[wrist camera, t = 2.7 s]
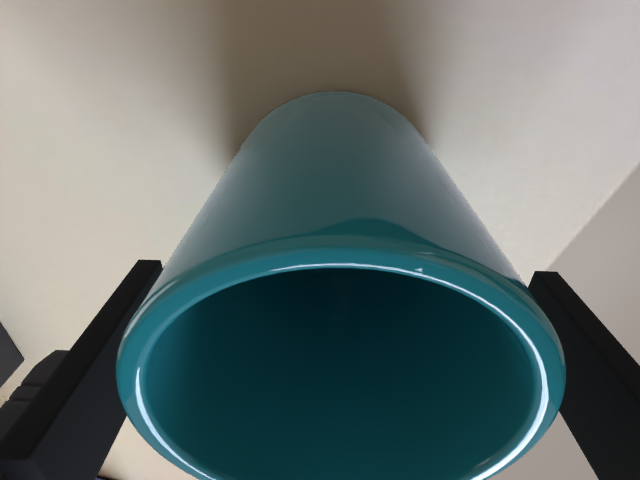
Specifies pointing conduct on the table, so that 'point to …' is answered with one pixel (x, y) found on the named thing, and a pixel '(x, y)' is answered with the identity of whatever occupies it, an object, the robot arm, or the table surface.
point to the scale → (8, 357)
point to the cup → (339, 316)
